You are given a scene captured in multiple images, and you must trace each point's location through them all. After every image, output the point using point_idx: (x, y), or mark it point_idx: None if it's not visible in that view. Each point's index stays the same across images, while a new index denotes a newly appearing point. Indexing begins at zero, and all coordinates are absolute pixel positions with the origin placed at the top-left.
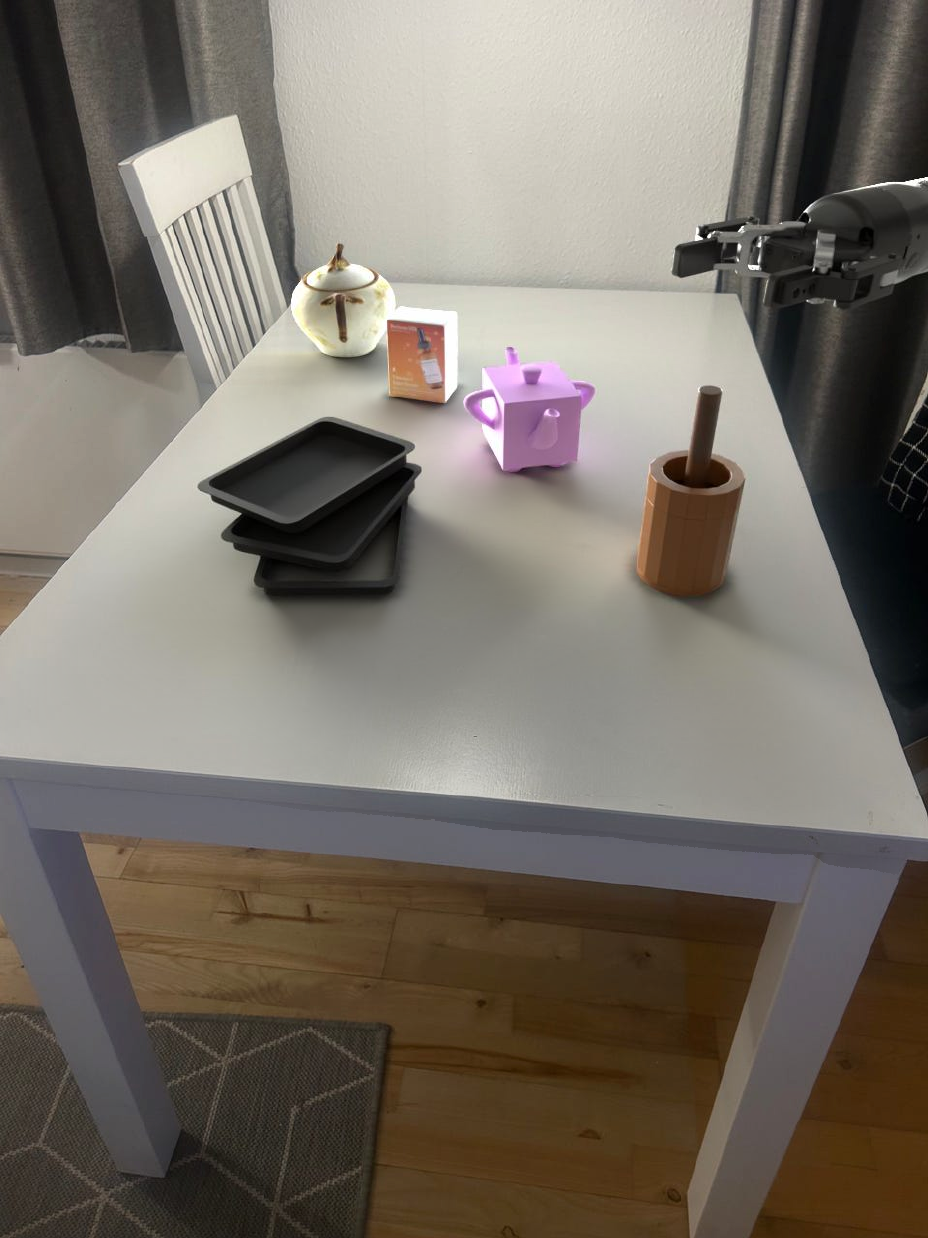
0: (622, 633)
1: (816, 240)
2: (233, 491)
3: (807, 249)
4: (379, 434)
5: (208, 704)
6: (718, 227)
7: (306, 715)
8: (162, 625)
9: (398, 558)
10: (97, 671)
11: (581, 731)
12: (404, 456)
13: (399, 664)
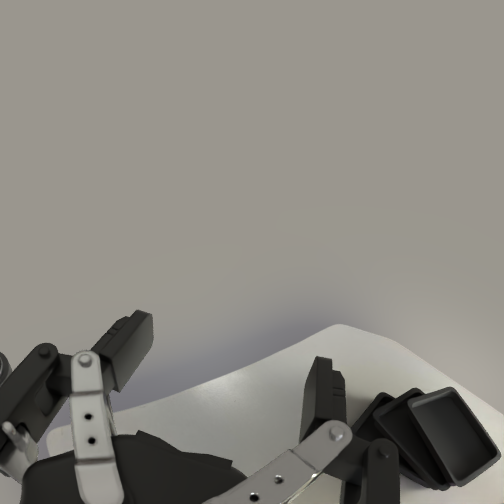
0: None
1: (116, 461)
2: (451, 405)
3: (129, 444)
4: (477, 473)
5: None
6: (368, 468)
7: (296, 374)
8: (379, 369)
9: None
10: (363, 347)
11: (196, 426)
12: (452, 480)
13: (298, 412)
